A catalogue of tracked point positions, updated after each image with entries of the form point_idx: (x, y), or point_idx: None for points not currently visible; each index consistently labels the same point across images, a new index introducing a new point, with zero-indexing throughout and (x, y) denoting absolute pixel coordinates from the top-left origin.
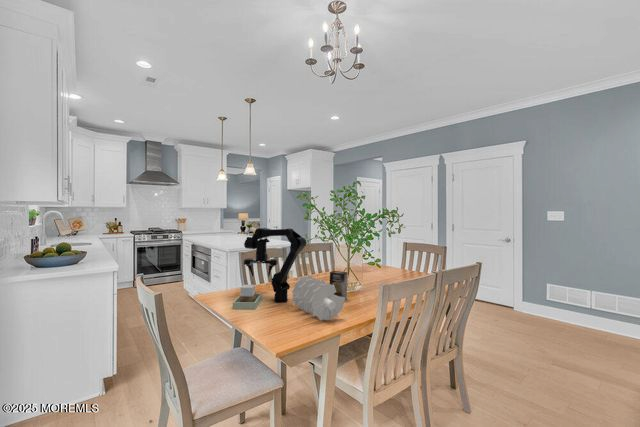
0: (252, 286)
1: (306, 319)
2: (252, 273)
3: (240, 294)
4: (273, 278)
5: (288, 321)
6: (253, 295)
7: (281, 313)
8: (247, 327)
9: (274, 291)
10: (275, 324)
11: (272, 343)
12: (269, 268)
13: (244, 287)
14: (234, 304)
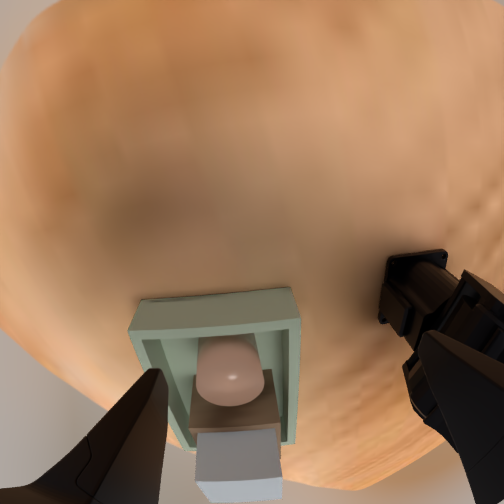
0: (275, 491)
1: None
2: (161, 445)
3: (140, 361)
4: (443, 430)
5: (400, 433)
6: (278, 450)
7: (392, 404)
8: (294, 476)
9: (405, 367)
10: (365, 453)
11: (353, 485)
12: (475, 476)
13: (232, 501)
14: (192, 442)
